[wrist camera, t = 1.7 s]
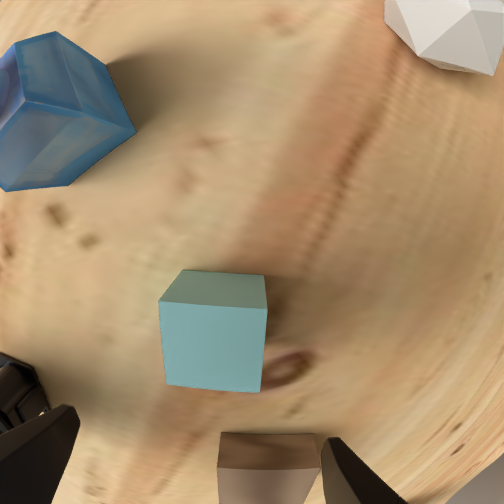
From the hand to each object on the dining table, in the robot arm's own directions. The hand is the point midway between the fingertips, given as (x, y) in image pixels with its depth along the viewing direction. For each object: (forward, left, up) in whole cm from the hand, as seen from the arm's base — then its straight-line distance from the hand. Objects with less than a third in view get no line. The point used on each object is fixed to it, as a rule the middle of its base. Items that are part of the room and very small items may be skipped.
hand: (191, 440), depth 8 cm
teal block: (0, 0, -11) cm, 11 cm away
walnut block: (+4, -16, -10) cm, 19 cm away
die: (+13, +21, -11) cm, 27 cm away
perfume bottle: (-10, +12, -11) cm, 19 cm away
